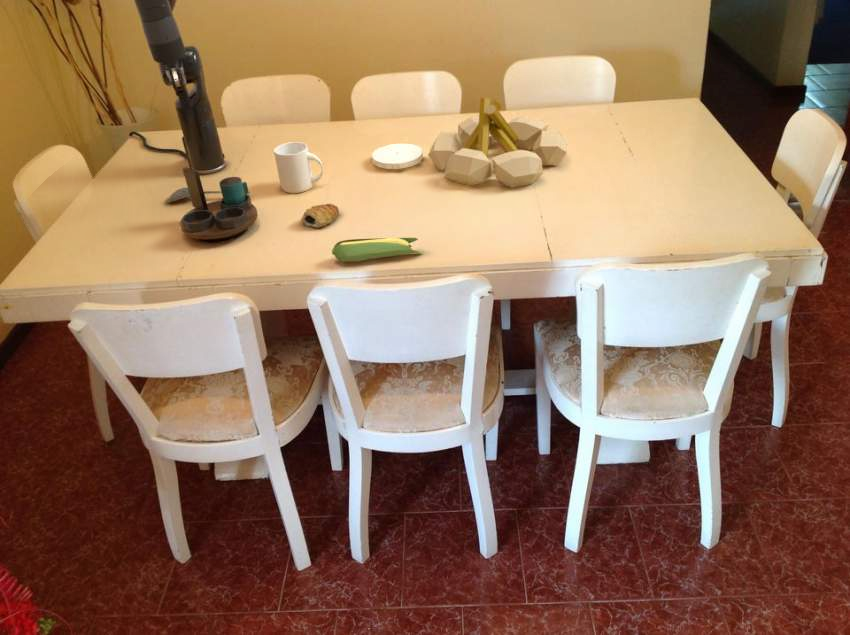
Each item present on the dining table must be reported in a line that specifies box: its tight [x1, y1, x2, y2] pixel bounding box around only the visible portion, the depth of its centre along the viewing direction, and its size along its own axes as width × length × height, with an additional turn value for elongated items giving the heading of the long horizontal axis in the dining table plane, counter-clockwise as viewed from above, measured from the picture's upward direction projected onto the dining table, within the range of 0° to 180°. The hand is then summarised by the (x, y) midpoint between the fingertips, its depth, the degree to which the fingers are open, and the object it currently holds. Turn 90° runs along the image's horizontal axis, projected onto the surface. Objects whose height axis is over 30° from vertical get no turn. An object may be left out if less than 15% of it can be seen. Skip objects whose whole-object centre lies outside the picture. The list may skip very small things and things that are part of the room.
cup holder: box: [179, 166, 259, 240], centre depth 172 cm, size 19×18×11 cm
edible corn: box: [331, 237, 426, 263], centre depth 158 cm, size 5×20×5 cm, turn 94°
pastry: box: [300, 203, 340, 229], centre depth 175 cm, size 9×7×4 cm
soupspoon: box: [167, 187, 251, 203], centre depth 190 cm, size 22×3×7 cm
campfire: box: [427, 97, 568, 189], centre depth 192 cm, size 35×34×17 cm
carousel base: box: [197, 227, 250, 244], centre depth 175 cm, size 13×13×2 cm
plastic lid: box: [371, 142, 424, 170], centre depth 201 cm, size 14×14×2 cm
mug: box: [273, 141, 324, 194], centre depth 190 cm, size 9×12×11 cm
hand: (187, 109), depth 177 cm, fingers closed
